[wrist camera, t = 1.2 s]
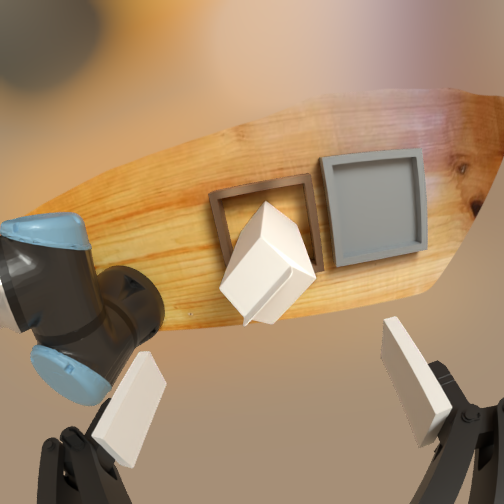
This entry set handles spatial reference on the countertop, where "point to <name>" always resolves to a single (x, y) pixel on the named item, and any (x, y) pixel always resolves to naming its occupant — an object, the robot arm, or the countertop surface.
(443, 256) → the countertop surface
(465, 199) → the countertop surface
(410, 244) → the tray
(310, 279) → the milk
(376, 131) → the countertop surface
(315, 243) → the frame
